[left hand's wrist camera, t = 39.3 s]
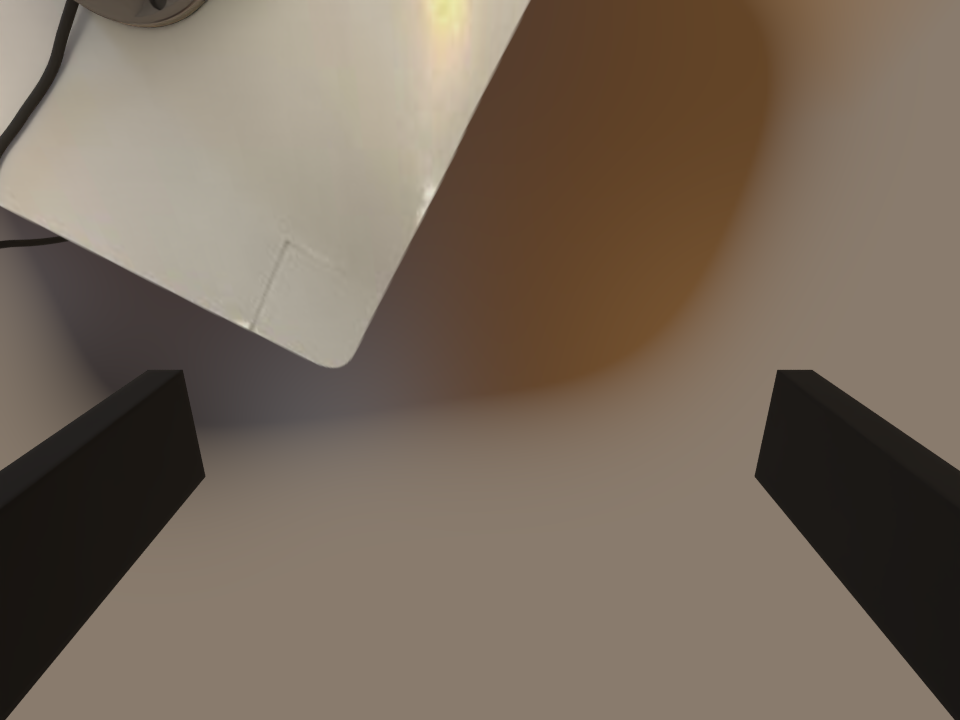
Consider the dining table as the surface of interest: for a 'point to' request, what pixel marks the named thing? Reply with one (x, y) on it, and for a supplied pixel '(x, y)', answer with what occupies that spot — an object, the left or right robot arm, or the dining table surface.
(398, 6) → the dining table surface
